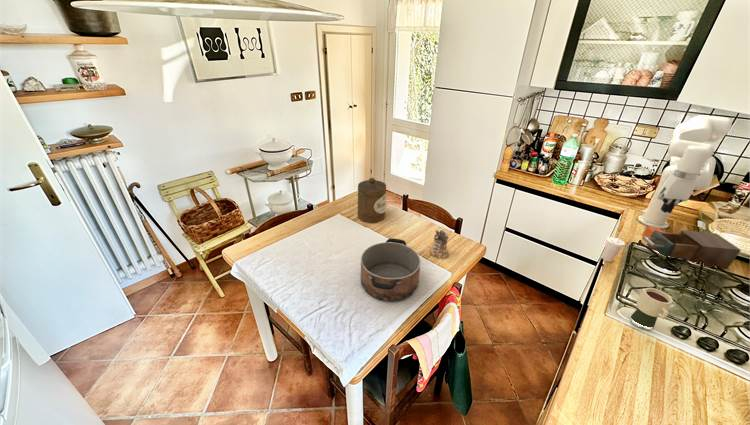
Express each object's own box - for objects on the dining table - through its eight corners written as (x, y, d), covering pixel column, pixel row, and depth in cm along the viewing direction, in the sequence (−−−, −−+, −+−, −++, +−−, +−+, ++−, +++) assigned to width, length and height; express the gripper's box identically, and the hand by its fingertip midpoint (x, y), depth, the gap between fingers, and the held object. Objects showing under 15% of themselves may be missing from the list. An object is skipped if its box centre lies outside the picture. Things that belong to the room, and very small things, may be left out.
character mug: (663, 338, 97) (684, 309, 91) (640, 336, 98) (659, 307, 91) (640, 312, 107) (657, 284, 101) (619, 310, 107) (635, 282, 101)
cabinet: (690, 264, 131) (702, 246, 126) (670, 247, 142) (681, 230, 137) (727, 268, 129) (741, 249, 124) (704, 251, 140) (716, 233, 135)
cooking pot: (412, 315, 104) (415, 291, 99) (350, 303, 108) (349, 280, 103) (421, 262, 130) (424, 241, 124) (371, 254, 134) (371, 233, 129)
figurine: (447, 259, 132) (450, 236, 126) (430, 257, 133) (433, 234, 127) (446, 250, 138) (450, 227, 132) (431, 248, 139) (433, 225, 133)
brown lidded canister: (382, 224, 156) (383, 185, 146) (354, 221, 159) (353, 182, 149) (387, 211, 169) (389, 174, 158) (362, 208, 172) (361, 171, 161)
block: (642, 234, 152) (646, 226, 149) (653, 235, 151) (658, 227, 149) (648, 240, 147) (653, 231, 145) (660, 241, 147) (664, 232, 144)
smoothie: (618, 264, 130) (632, 237, 124) (602, 262, 131) (615, 235, 125) (611, 255, 136) (624, 229, 129) (596, 254, 137) (608, 227, 130)
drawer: (649, 258, 133) (658, 243, 130) (634, 243, 143) (642, 229, 140) (695, 262, 131) (705, 247, 127) (676, 247, 141) (685, 233, 137)
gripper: (698, 172, 135) (678, 209, 144) (660, 170, 138) (642, 206, 146) (712, 179, 129) (689, 216, 138) (671, 176, 131) (651, 213, 140)
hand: (665, 211), depth 142 cm, fingers closed
